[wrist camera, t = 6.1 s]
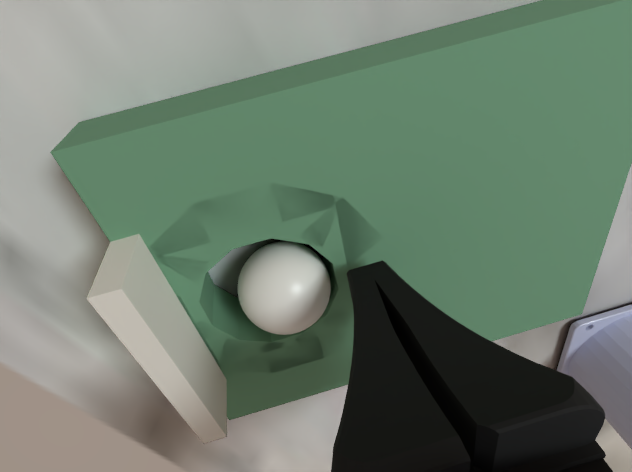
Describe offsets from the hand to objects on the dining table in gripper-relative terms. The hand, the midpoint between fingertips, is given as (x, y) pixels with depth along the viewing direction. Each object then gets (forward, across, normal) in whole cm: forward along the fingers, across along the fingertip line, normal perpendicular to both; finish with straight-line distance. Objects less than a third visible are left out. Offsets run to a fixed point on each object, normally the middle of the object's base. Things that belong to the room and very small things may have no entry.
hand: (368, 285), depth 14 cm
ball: (+2, +3, 0) cm, 3 cm away
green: (+3, -2, 0) cm, 4 cm away
